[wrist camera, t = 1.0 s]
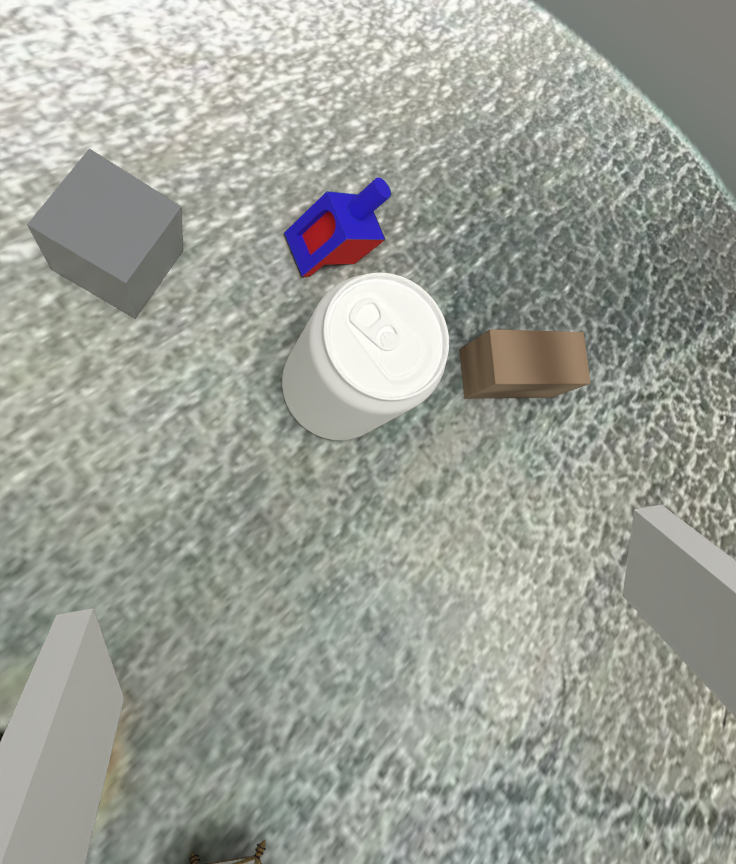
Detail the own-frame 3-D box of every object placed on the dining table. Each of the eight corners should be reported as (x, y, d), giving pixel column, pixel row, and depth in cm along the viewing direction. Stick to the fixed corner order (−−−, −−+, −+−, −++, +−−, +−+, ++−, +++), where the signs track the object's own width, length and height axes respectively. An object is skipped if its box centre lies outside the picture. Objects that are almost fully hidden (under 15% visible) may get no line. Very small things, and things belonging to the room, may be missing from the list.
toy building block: (340, 274, 45) (412, 218, 40) (301, 276, 42) (374, 215, 37) (323, 233, 45) (393, 171, 40) (283, 232, 42) (352, 165, 37)
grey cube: (51, 270, 38) (26, 224, 32) (104, 203, 39) (89, 148, 34) (135, 319, 39) (125, 283, 33) (183, 251, 40) (181, 206, 35)
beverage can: (335, 464, 41) (389, 440, 30) (256, 381, 40) (281, 324, 29) (408, 392, 44) (484, 344, 32) (336, 313, 43) (387, 236, 32)
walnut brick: (463, 398, 45) (495, 383, 40) (458, 349, 46) (489, 329, 41) (550, 397, 47) (590, 383, 43) (545, 351, 48) (583, 332, 43)
